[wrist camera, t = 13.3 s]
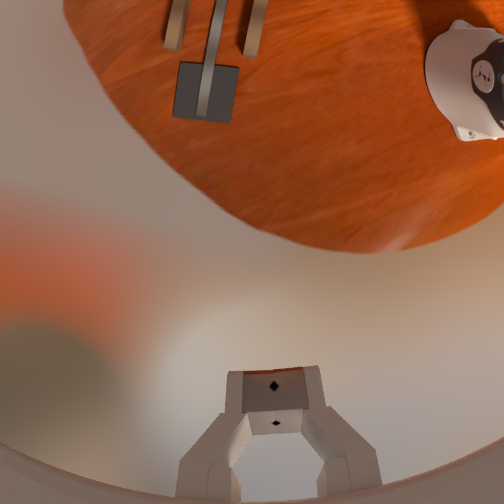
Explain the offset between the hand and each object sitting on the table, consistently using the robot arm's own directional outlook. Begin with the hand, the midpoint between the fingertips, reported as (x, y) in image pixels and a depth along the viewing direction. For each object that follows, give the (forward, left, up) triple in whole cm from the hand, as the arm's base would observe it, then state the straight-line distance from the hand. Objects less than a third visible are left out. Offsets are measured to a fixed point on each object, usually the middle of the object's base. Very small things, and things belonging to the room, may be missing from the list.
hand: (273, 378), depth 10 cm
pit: (+6, -9, -31) cm, 33 cm away
